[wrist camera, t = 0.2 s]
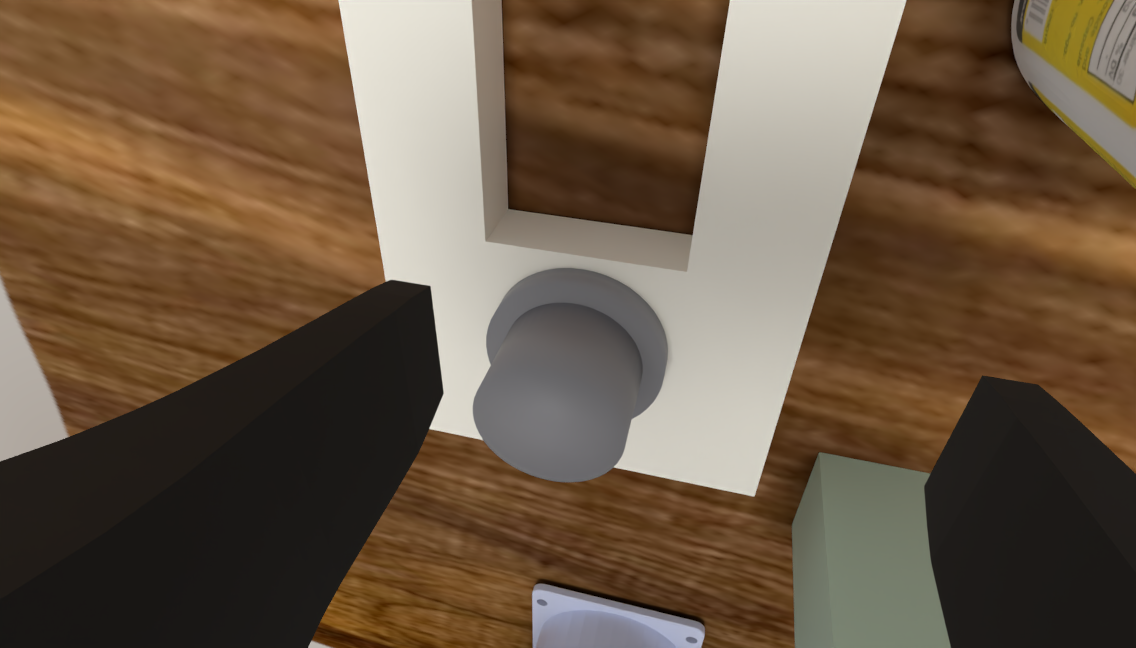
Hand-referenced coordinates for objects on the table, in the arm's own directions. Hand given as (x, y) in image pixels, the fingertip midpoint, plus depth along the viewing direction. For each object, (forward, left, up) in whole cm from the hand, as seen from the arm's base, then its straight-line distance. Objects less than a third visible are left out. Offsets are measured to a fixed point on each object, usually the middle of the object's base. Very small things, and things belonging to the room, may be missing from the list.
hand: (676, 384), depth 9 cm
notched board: (-3, +3, -10) cm, 11 cm away
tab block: (-12, -7, -10) cm, 17 cm away
